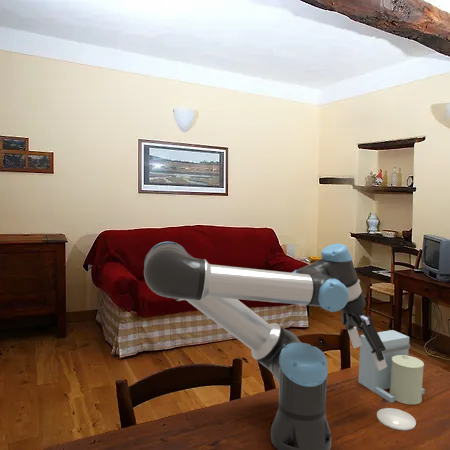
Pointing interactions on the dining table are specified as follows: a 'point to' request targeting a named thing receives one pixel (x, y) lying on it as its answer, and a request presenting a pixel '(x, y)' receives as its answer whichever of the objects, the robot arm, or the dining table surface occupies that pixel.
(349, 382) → the dining table surface
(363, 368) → the pale blue footed box
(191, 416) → the dining table surface
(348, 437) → the dining table surface
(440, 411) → the dining table surface
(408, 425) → the coaster
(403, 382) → the can
